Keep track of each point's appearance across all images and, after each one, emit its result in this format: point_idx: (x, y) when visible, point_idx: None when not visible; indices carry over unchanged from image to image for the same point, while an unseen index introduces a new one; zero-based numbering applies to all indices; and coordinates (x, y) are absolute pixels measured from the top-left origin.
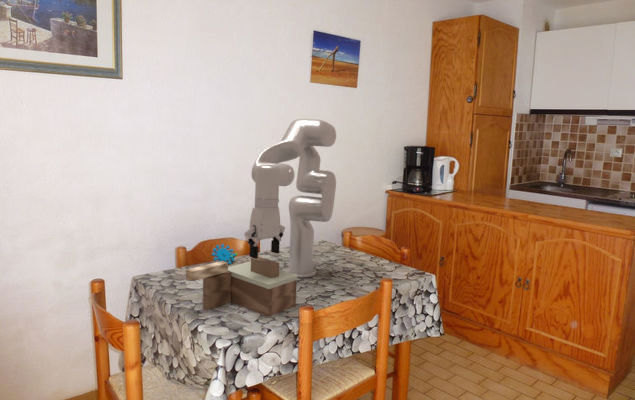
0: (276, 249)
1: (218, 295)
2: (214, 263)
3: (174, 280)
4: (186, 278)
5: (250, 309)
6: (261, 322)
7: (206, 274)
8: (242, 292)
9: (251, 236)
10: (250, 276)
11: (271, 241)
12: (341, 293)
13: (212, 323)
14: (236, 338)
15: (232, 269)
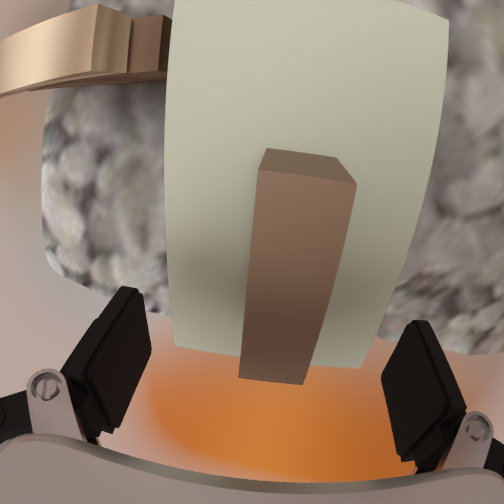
0: (390, 393)
1: (128, 80)
2: (35, 36)
3: None
4: None
5: None
6: (167, 274)
7: (2, 96)
8: None
9: (54, 446)
10: (185, 218)
11: (441, 404)
12: (482, 323)
13: (69, 176)
14: (76, 278)
15: (207, 30)
